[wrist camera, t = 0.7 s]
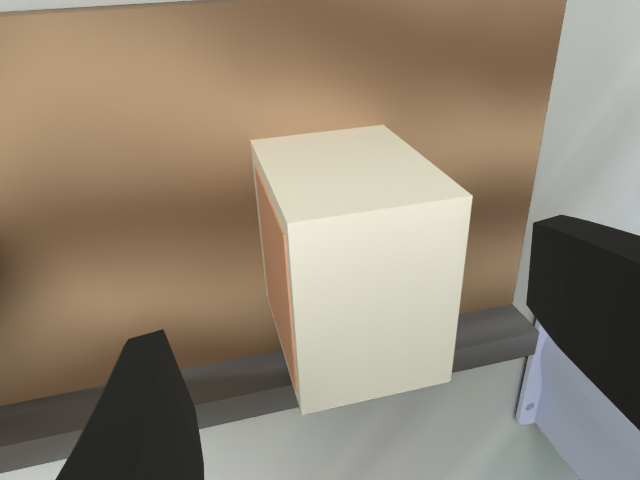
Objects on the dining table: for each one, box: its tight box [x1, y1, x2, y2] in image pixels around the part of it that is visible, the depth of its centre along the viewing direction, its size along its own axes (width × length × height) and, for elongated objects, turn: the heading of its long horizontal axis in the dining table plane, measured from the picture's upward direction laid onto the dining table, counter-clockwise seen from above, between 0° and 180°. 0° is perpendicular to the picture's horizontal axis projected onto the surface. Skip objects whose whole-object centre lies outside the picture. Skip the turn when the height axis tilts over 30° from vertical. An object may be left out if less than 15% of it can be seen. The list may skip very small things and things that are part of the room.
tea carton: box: [250, 125, 473, 415], centre depth 16 cm, size 5×6×6 cm
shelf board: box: [0, 0, 567, 473], centre depth 18 cm, size 14×25×4 cm, turn 92°
